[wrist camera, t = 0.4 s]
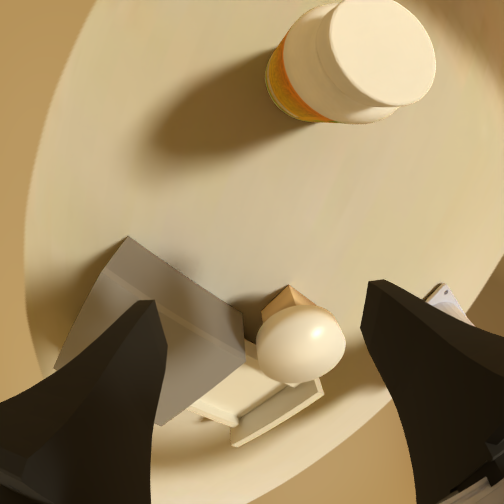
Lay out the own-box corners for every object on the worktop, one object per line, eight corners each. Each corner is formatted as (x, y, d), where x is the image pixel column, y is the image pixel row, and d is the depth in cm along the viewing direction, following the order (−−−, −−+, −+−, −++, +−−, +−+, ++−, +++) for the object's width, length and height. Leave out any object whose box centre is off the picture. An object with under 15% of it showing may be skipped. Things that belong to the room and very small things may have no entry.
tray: (313, 360, 24) (324, 394, 20) (235, 415, 27) (237, 447, 24) (221, 304, 21) (220, 342, 17) (150, 377, 24) (142, 411, 20)
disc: (353, 329, 19) (361, 344, 17) (296, 376, 20) (300, 392, 19) (299, 289, 17) (305, 304, 16) (238, 345, 19) (239, 362, 17)
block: (315, 304, 22) (328, 334, 19) (288, 329, 23) (297, 360, 20) (288, 284, 21) (298, 314, 18) (260, 311, 22) (266, 342, 19)
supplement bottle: (297, 138, 17) (369, 160, 8) (245, 68, 15) (264, 10, 6) (364, 96, 16) (472, 92, 7) (317, 28, 14) (394, -37, 5)
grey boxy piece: (242, 313, 22) (246, 361, 17) (168, 383, 25) (161, 426, 20) (128, 235, 18) (101, 272, 14) (74, 328, 22) (53, 368, 17)
